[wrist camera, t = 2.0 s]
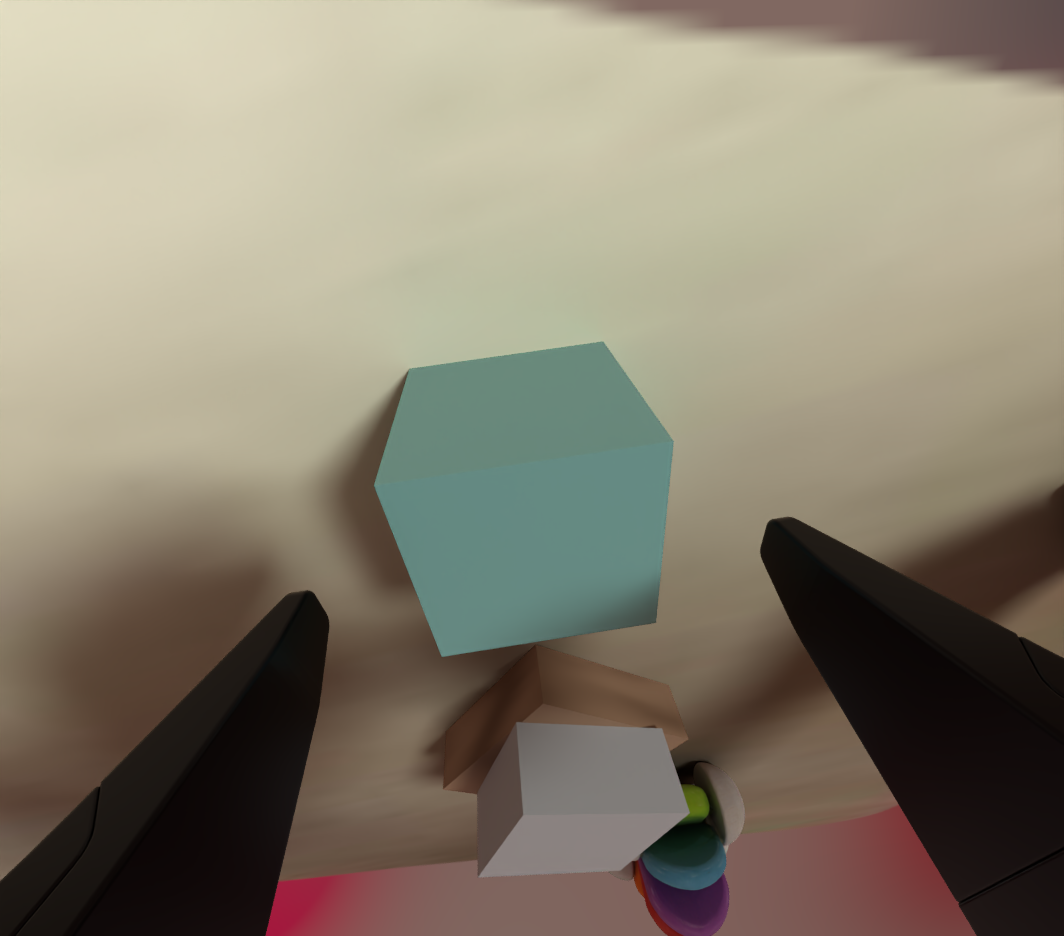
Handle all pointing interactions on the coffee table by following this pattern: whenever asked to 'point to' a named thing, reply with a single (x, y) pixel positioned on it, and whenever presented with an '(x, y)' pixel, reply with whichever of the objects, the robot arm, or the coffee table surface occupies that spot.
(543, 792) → the tower mid
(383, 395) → the coffee table surface
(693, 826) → the rainbow segmented toy
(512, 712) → the tower base
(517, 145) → the coffee table surface
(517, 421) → the teal cube
